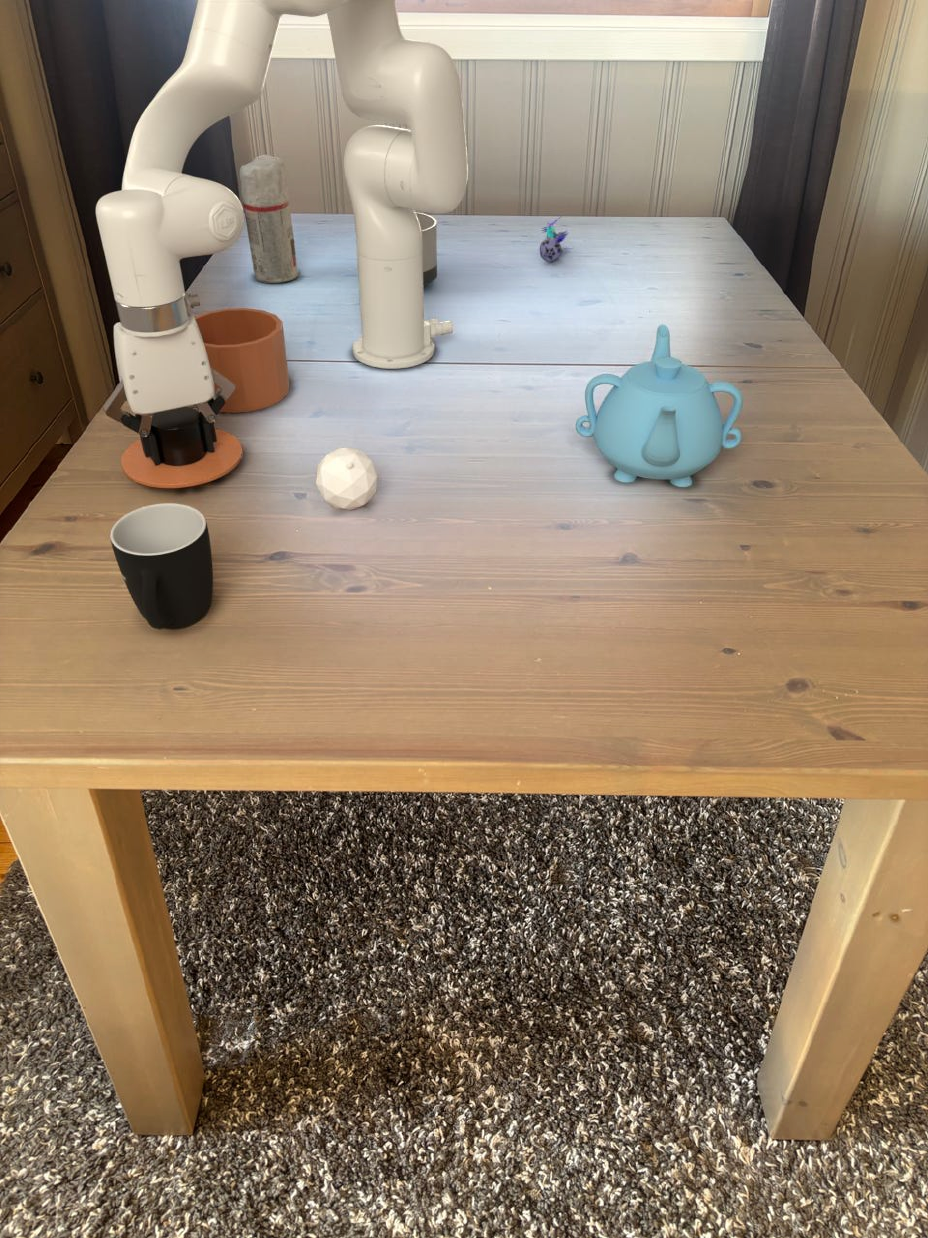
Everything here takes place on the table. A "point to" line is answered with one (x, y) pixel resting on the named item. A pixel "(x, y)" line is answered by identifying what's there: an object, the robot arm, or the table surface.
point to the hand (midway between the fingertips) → (181, 452)
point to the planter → (428, 247)
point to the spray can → (268, 219)
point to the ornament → (346, 478)
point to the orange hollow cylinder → (247, 356)
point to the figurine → (552, 243)
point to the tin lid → (181, 452)
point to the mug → (166, 563)
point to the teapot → (660, 418)
